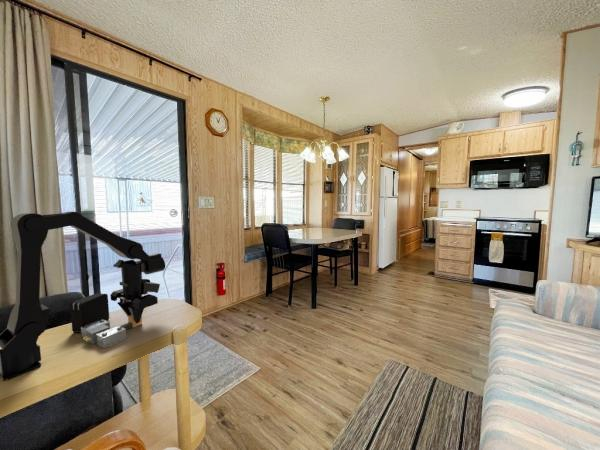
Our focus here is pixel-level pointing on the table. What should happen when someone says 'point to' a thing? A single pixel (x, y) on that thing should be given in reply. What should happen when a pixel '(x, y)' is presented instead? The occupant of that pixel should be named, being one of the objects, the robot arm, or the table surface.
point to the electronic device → (89, 311)
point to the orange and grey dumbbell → (92, 332)
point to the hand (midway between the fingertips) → (135, 321)
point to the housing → (105, 334)
